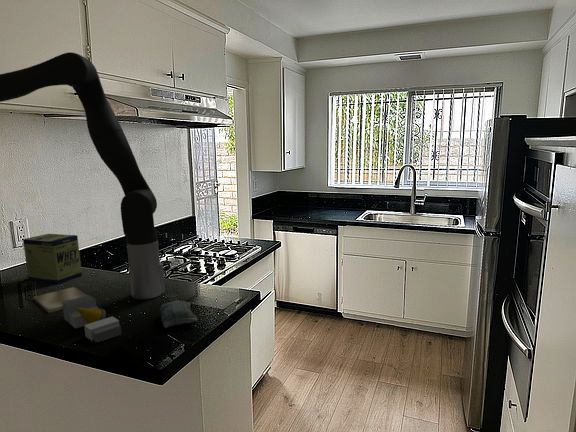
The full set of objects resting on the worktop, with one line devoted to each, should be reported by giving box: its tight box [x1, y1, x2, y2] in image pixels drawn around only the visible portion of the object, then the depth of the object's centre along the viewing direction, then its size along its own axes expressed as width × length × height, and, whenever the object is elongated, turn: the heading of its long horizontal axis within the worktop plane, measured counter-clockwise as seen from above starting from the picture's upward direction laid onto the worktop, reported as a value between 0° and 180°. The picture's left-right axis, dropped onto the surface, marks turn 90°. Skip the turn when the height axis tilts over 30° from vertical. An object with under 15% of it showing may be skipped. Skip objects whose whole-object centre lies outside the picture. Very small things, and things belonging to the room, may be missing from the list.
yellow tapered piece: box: [76, 307, 109, 324], centre depth 106 cm, size 5×5×10 cm
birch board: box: [33, 286, 87, 314], centre depth 128 cm, size 12×16×1 cm
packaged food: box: [159, 299, 198, 329], centre depth 109 cm, size 9×12×5 cm
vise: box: [62, 294, 122, 343], centre depth 108 cm, size 7×22×5 cm, turn 45°
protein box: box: [22, 233, 83, 285], centre depth 150 cm, size 10×16×16 cm
